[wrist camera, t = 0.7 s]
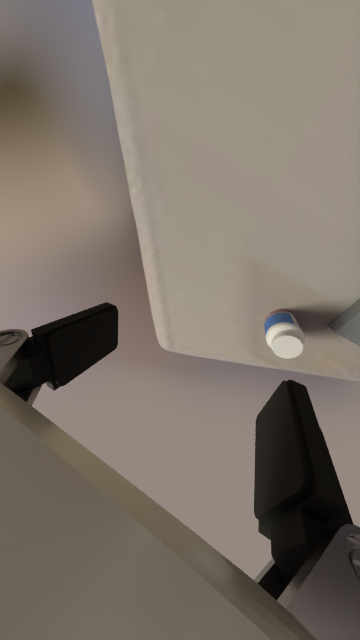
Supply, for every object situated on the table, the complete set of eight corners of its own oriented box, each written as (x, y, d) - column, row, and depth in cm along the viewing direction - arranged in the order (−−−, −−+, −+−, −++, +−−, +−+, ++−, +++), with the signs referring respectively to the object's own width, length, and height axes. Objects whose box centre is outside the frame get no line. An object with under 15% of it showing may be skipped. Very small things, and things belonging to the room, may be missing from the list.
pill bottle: (258, 323, 35) (258, 346, 26) (278, 303, 32) (285, 323, 23) (280, 339, 34) (287, 368, 26) (303, 321, 31) (319, 347, 23)
